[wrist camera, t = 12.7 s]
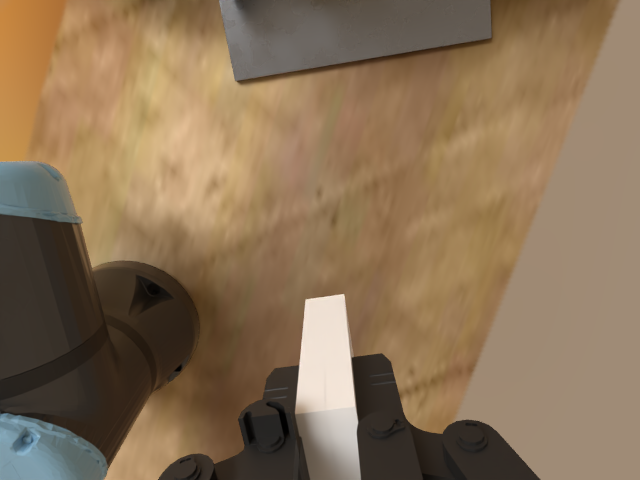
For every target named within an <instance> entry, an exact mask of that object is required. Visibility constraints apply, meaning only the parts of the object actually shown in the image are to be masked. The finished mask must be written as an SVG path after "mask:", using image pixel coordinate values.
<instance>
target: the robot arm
mask: <svg viewBox="0 0 640 480" xmlns="http://www.w3.org/2000/svg"><path fill="white" fill-rule="evenodd" d="M81 223H82V219H81V217H79V216H78V215H77V213H76V210H75V207H74V204H73V201H72V198H71V195H70V192H69V189H68V186H67V183H66V180H65V178H64V177H63V175H62V174H61V173H60V172H59V171H58V170H57V169H55V168H54V167H52V166H50V165H48V164H46V163H42V162H36V161H19V162H17V161H16V162H0V480H104V478H105V477H106V474H107V471H108V468H109V466H110V465H111V463H112V461H113V459H114V458H115V456H116V454H117V452H118V451H119V449H120V447H121V445H122V444H123V442H124V440H125V438H126V437H127V435H128V433H129V431H130V430H131V428H132V426H133V424H134V423H135V421H136V419H137V417H138V416H139V414H140V412H141V410H142V409H143V407H144V405H145V404H146V402H147V400H148V398H149V397H150V396H151V395H152V394H153V393H155V392H156V391H158V390H159V389H160V388H162V387H163V386H165V385H166V384H168V383H169V382H170V381H172V380H173V379H174V378H175V377H177V376H178V375H179V374H180V373H181V372H182V370H183V369H184V368H185V367H186V365H187V364H188V362H189V360H190V358H191V356H192V354H193V352H194V350H195V348H196V346H197V343H198V338H199V319H198V314H197V311H196V308H195V306H194V304H193V302H192V300H191V298H190V296H189V295H188V294H187V292H186V291H185V290H184V288H183V287H182V286H181V285H180V284H179V283H178V282H177V281H176V280H174V279H173V278H172V277H171V276H169V275H168V274H166V273H165V272H163V271H161V270H159V269H157V268H155V267H152V266H150V265H147V264H143V263H139V262H133V261H114V262H108V263H104V264H101V265H99V266H96V267H94V268H92V267H91V263H90V259H89V255H88V251H87V248H86V244H85V240H84V236H83V232H82V228H81ZM238 421H239V425H240V429H241V433H242V436H243V440H244V444H245V447H244V450H243V451H242V452H240V453H239V454H237V455H236V456H233V457H231V458H229V459H226V460H224V461H221V462H219V463H216V464H214V463H213V461H212V460H211V459H210V458H209V457H208V456H206V455H203V454H191V455H188V456H185V457H182V458H180V459H178V460H177V461H175V462H174V463H172V464H171V465H170V466H169V467H168V468H167V469H166V470H165V471H164V472H163V473H162V475H161V476H160V477H159V479H158V480H540V479H539V478H538V477H537V476H536V474H534V472H533V471H532V470H531V469H530V468H529V467H528V465H527V464H526V463H525V462H524V461H523V460H522V459H521V458H520V457H519V455H518V454H517V453H516V452H515V451H514V450H513V449H512V448H511V447H510V445H508V443H507V442H506V441H505V440H504V439H503V438H502V437H501V436H500V434H499V433H498V432H497V431H496V430H494V429H493V428H492V427H490V426H489V425H487V424H485V423H482V422H479V421H474V420H462V421H456V422H454V423H452V424H450V425H448V427H447V428H446V429H445V430H444V431H443V434H437V433H431V432H426V431H423V430H420V429H418V428H416V427H414V426H413V425H411V424H410V423H409V422H408V420H407V419H406V417H405V415H404V412H403V408H402V404H401V401H400V397H399V393H398V389H397V385H396V381H395V377H394V374H393V369H392V365H391V362H390V361H389V360H388V359H387V358H386V357H385V356H384V355H383V354H382V353H381V354H374V355H366V356H358V357H354V356H353V350H352V343H351V336H350V330H349V323H348V317H347V310H346V304H345V297H344V294H341V295H334V296H327V297H320V298H312V299H306V302H305V312H304V323H303V334H302V344H301V355H300V365H298V366H290V367H283V368H275V369H274V370H273V372H272V373H271V374H270V375H269V377H268V378H267V380H266V385H265V392H264V395H263V400H259V401H256V402H255V403H253V404H251V405H249V406H248V407H247V408H245V409H244V410H243V411H242V412H241V414H240V416H239V418H238Z"/></svg>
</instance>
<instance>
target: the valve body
mask: <svg viewBox="0 0 640 480" xmlns="http://www.w3.org/2000/svg"><path fill="white" fill-rule="evenodd" d="M219 3H220V8H221V13H222V18H223V23H224V28H225V33H226V38H227V43H228V48H229V53H230V58H231V63H232V68H233V73H234V78H235V81H240V80H246V79H252V78H258V77H264V76H270V75H276V74H282V73H288V72H294V71H300V70H306V69H312V68H318V67H324V66H330V65H336V64H342V63H348V62H354V61H360V60H366V59H372V58H378V57H383V56H389V55H395V54H401V53H407V52H413V51H419V50H425V49H431V48H437V47H443V46H449V45H455V44H461V43H467V42H473V41H479V40H485V39H490V38H492V34H491V6H490V0H219Z"/></svg>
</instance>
